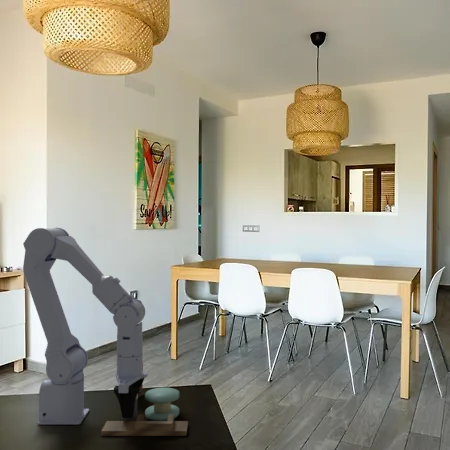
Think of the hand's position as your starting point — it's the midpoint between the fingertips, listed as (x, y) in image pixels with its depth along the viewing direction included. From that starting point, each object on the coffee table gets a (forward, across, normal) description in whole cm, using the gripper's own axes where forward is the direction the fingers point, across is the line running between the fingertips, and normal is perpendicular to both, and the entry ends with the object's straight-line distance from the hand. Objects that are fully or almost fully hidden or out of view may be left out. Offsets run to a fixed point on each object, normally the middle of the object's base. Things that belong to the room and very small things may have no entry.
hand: (129, 413), depth 107 cm
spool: (+2, +4, -7) cm, 8 cm away
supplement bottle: (+2, +16, +2) cm, 16 cm away
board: (+2, -5, -4) cm, 7 cm away
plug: (+2, 0, 0) cm, 2 cm away
